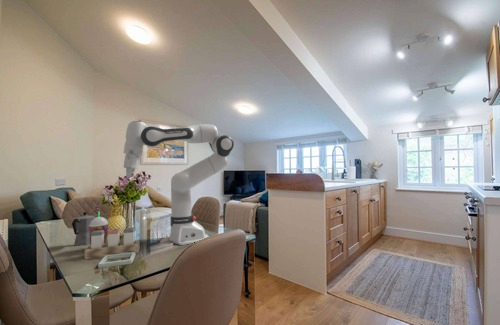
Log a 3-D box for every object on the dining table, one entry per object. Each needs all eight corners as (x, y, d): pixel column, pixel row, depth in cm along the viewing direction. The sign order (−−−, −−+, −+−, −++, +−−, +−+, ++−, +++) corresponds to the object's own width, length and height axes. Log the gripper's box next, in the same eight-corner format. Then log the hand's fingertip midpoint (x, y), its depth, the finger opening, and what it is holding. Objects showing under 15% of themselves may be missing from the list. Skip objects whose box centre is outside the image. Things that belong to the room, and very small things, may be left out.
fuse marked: (119, 251, 109) (119, 228, 110) (117, 254, 105) (117, 230, 106) (109, 252, 108) (110, 229, 108) (107, 255, 104) (107, 231, 104)
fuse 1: (104, 253, 107) (104, 229, 107) (101, 256, 103) (101, 232, 104) (93, 254, 106) (94, 230, 106) (90, 257, 102) (91, 232, 102)
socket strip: (139, 251, 113) (139, 240, 113) (137, 256, 107) (137, 244, 107) (89, 257, 106) (90, 245, 107) (84, 263, 100) (84, 250, 100)
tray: (135, 258, 104) (135, 251, 104) (131, 267, 95) (131, 259, 95) (105, 262, 100) (105, 255, 100) (98, 271, 91) (98, 264, 91)
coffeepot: (84, 241, 131) (84, 210, 132) (100, 241, 131) (101, 209, 132) (62, 250, 116) (63, 215, 116) (81, 250, 116) (82, 214, 117)
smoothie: (90, 250, 116) (91, 210, 117) (109, 247, 119) (110, 209, 120) (86, 255, 108) (86, 213, 109) (106, 253, 112) (107, 212, 113)
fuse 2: (134, 249, 111) (134, 227, 112) (133, 252, 107) (133, 229, 108) (125, 251, 110) (125, 228, 110) (123, 253, 106) (123, 230, 106)
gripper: (136, 150, 113) (133, 178, 112) (142, 153, 132) (139, 176, 131) (122, 148, 111) (118, 176, 110) (130, 151, 130) (127, 175, 130)
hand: (129, 176), depth 121 cm, fingers open, 8 cm apart
